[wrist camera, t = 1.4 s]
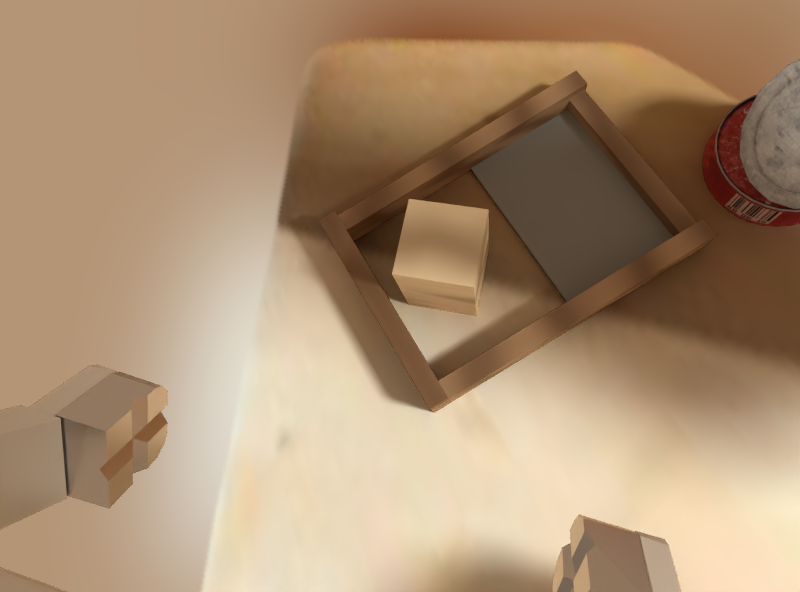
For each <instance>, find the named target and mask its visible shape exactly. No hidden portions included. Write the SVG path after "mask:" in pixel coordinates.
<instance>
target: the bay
mask: <svg viewBox="0 0 800 592" xmlns="http://www.w3.org/2000/svg"><path fill="white" fill-rule="evenodd" d="M586 87H587V82H586V81H585V80H584V79H583V78H582V77H581V76H580V74H579V73H578V72H577V71H575V72H573V73H571V74H570V75H568V76H566V77H565V78H563V79H562V80H560V81H558V82H557V83H555V84H553V85H552V86H550V87H548V88H547V89H545V90H543V91H542V92H540V93H539V94H537V95H535V96H534V97H532V98H530V99H529V100H527V101H525V102H524V103H522V104H520V105H519V106H517V107H515V108H514V109H512V110H511V111H509V112H507V113H506V114H504V115H502V116H501V117H499V118H497V119H496V120H494V121H492V122H491V123H489V124H487V125H486V126H484V127H483V128H481V129H479V130H478V131H476V132H474V133H473V134H471V135H469V136H468V137H466V138H464V139H463V140H461V141H460V142H458V143H456V144H455V145H453V146H451V147H450V148H448V149H446V150H445V151H443V152H441V153H440V154H438V155H436V156H435V157H433V158H432V159H430V160H428V161H427V162H425V163H423V164H422V165H420V166H418V167H417V168H415V169H413V170H412V171H410V172H409V173H407V174H405V175H404V176H402V177H400V178H399V179H397V180H395V181H394V182H392V183H390V184H389V185H387V186H385V187H384V188H382V189H381V190H379V191H377V192H376V193H374V194H372V195H371V196H369V197H367V198H366V199H364V200H362V201H361V202H359V203H357V204H356V205H354V206H353V207H351V208H349V209H348V210H346V211H344V212H343V213H341V214H339V215H337V213H336V212H335V210H334V211H333V212H331V213H329V214H328V215H326V216H324V217H323V218H321V219H319V220H318V221H319V222H320V224H321V226H322V227H323V229H324V231H325V232H326V234H327V236H328V238H329V239H330V241H331V243H332V244H333V246H334V248H335V249H336V251H337V253H338V255H339V256H340V258H341V260H342V261H343V263H344V265H345V266H346V268H347V270H348V271H349V273H350V275H351V277H352V278H353V280H354V282H355V283H356V285H357V287H358V288H359V290H360V292H361V294H362V295H363V297H364V299H365V300H366V302H367V304H368V305H369V307H370V309H371V310H372V312H373V314H374V316H375V317H376V319H377V321H378V322H379V324H380V326H381V327H382V329H383V331H384V333H385V334H386V336H387V338H388V339H389V341H390V343H391V344H392V346H393V348H394V349H395V351H396V353H397V355H398V356H399V358H400V360H401V361H402V363H403V365H404V366H405V368H406V370H407V372H408V373H409V375H410V377H411V378H412V380H413V382H414V383H415V385H416V387H417V388H418V390H419V392H420V394H421V395H422V397H423V399H424V400H425V402H426V404H427V405H428V407H429V409H430V410H432V411H433V412H436V411H438V410H439V409H441V408H442V407H444V406H446V405H447V404H449V403H451V402H452V401H454V400H456V399H457V398H459V397H460V396H462V395H464V394H465V393H467V392H469V391H470V390H472V389H473V388H475V387H477V386H478V385H480V384H482V383H483V382H485V381H487V380H488V379H490V378H491V377H493V376H495V375H496V374H498V373H500V372H501V371H503V370H504V369H506V368H508V367H509V366H511V365H513V364H514V363H516V362H518V361H519V360H521V359H522V358H524V357H526V356H527V355H529V354H531V353H532V352H534V351H535V350H537V349H539V348H540V347H542V346H544V345H545V344H547V343H549V342H550V341H552V340H553V339H555V338H557V337H558V336H560V335H562V334H563V333H565V332H566V331H568V330H570V329H571V328H573V327H575V326H576V325H578V324H580V323H581V322H583V321H584V320H586V319H588V318H589V317H591V316H593V315H594V314H596V313H597V312H599V311H601V310H602V309H604V308H606V307H607V306H609V305H611V304H612V303H614V302H615V301H617V300H619V299H620V298H622V297H624V296H625V295H627V294H628V293H630V292H632V291H633V290H635V289H637V288H638V287H640V286H642V285H643V284H645V283H646V282H648V281H650V280H651V279H653V278H655V277H656V276H658V275H659V274H661V273H663V272H664V271H666V270H668V269H669V268H671V267H673V266H674V265H676V264H677V263H679V262H681V261H682V260H684V259H686V258H687V257H689V256H690V255H692V254H694V253H695V252H697V251H699V250H700V249H702V248H704V247H705V246H706V245H707V244H708V243H709V242H710V241H711V240H712V239H713V238H714V237H715V236H716V235H717V233H716V232H715V231H714V230H713V229H712V228H711V226H710V225H709V224H708V223H707V222H706V221H705V219H704V218H703V219H702V220H700V221H698V222H697V221H696V220H695V219H694V218H693V216H692V215H691V214H690V213H689V212H688V211H687V209H686V208H685V207H684V206H683V205H682V204H681V202H680V201H679V200H678V199H677V198H676V197H675V195H674V194H673V193H672V192H671V191H670V190H669V188H668V187H667V186H666V185H665V184H664V183H663V181H662V180H661V179H660V178H659V177H658V176H657V174H656V173H655V172H654V171H653V170H652V169H651V167H650V166H649V165H648V164H647V163H646V162H645V160H644V159H643V158H642V157H641V156H640V154H639V153H638V152H637V151H636V150H635V149H634V147H633V146H632V145H631V144H630V143H629V142H628V140H627V139H626V138H625V137H624V136H623V135H622V133H621V132H620V131H619V130H618V129H617V128H616V126H615V125H614V124H613V123H612V122H611V121H610V119H609V118H608V117H607V116H606V115H605V114H604V112H603V111H602V110H601V109H600V108H599V107H598V105H597V104H596V103H595V102H594V101H593V99H592V98H591V97H590V96H589V95H588V94H587V92H586ZM470 170H471V171H472V172H473V173H474V175H475V176H476V178H477V179H478V180H479V182H480V183H481V184H482V186H483V187H484V189H485V190H486V191H487V193H488V194H489V196H490V197H491V198H492V200H493V201H494V202H495V204H496V205H497V207H498V208H499V209H500V211H501V212H502V214H503V215H504V216H505V218H506V219H507V220H508V222H509V223H510V225H511V226H512V227H513V229H514V230H515V232H516V233H517V234H518V236H519V237H520V238H521V240H522V241H523V243H524V244H525V245H526V247H527V248H528V250H529V251H530V252H531V254H532V255H533V256H534V258H535V259H536V261H537V262H538V263H539V265H540V266H541V268H542V269H543V270H544V272H545V273H546V274H547V276H548V277H549V279H550V280H551V281H552V283H553V284H554V286H555V287H556V288H557V290H558V291H559V292H560V294H561V295H562V297H563V298H564V299H565V301H566V303H564V304H563V305H561V306H560V307H558V308H556V309H555V310H553V311H551V312H550V313H548V314H547V315H545V316H543V317H542V318H540V319H538V320H537V321H535V322H533V323H532V324H530V325H529V326H527V327H525V328H524V329H522V330H520V331H519V332H517V333H515V334H514V335H512V336H511V337H509V338H507V339H506V340H504V341H502V342H501V343H499V344H498V345H496V346H494V347H493V348H491V349H489V350H488V351H486V352H484V353H483V354H481V355H480V356H478V357H476V358H475V359H473V360H471V361H470V362H468V363H467V364H465V365H463V366H462V367H460V368H458V369H457V370H455V371H453V372H452V373H450V374H449V375H447V376H445V377H444V378H442V379H440V380H439V381H438V379H437V378H436V376H435V374H434V373H433V371H432V369H431V368H430V366H429V364H428V363H427V361H426V359H425V358H424V356H423V355H422V353H421V351H420V350H419V348H418V346H417V345H416V343H415V341H414V340H413V338H412V336H411V335H410V333H409V331H408V330H407V328H406V326H405V325H404V323H403V322H402V320H401V318H400V317H399V315H398V313H397V312H396V310H395V308H394V307H393V305H392V303H391V302H390V300H389V298H388V297H387V295H386V293H385V292H384V290H383V289H382V287H381V285H380V284H379V282H378V280H377V279H376V277H375V275H374V274H373V272H372V270H371V269H370V267H369V265H368V264H367V262H366V260H365V259H364V257H363V256H362V254H361V252H360V251H359V249H358V247H357V246H356V244H355V242H354V241H355V240H357V239H358V238H360V237H362V236H363V235H365V234H366V233H368V232H370V231H371V230H373V229H375V228H376V227H378V226H380V225H381V224H383V223H385V222H386V221H388V220H389V219H391V218H393V217H394V216H396V215H398V214H399V213H401V212H403V211H404V210H406V209H407V205H408V201H409V199H415V200H422V199H424V198H426V197H427V196H429V195H431V194H432V193H434V192H436V191H437V190H439V189H440V188H442V187H444V186H445V185H447V184H449V183H450V182H452V181H454V180H455V179H457V178H459V177H460V176H462V175H463V174H465V173H467V172H468V171H470Z"/></svg>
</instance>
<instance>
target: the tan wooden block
mask: <svg viewBox="0 0 800 592" xmlns="http://www.w3.org/2000/svg"><path fill="white" fill-rule="evenodd" d="M488 253H489V209H482V208H475V207H467V206H460V205H452V204H445V203H437V202H430V201H422V200H415V199H409V201H408V205H407V209H406V214H405V218H404V223H403V227H402V231H401V236H400V240H399V245H398V249H397V254H396V258H395V262H394V267H393V271H392V275H393V277H394V279H395V281H396V282H397V284H398V286H399V288H400V290H401V292H402V293H403V295H404V297H405V299H406V301H407V303H408V304H410V305H415V306H421V307H427V308H433V309H439V310H444V311H450V312H456V313H462V314H468V315H473V316H477V312H478V307H479V301H480V296H481V290H482V285H483V280H484V274H485V269H486V263H487V258H488Z"/></svg>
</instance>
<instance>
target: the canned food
mask: <svg viewBox="0 0 800 592" xmlns="http://www.w3.org/2000/svg"><path fill="white" fill-rule="evenodd" d="M702 170H703V175H704V180H705V182H706V184H707V187H708V189H709V191H710V192H711V193H712V195H713V196H714V198H715V199H716V200H717V201H718V202H719V203H720V204H721V205H722V206H723V207H724V208H725V209H726V210H728V211H729V212H731V213H732V214H734V215H735V216H737V217H739V218H742V219H744V220H746V221H748V222H752V223H756V224H759V225H765V226H776V227H778V226H791V225H794V224H798V223H800V59H799V60H797V61H795V62H793V63H791V64H789V65H788V66H787V67H785V68H784V69H783V70H782V71H781V72H780V73H779V74H777V75H776V76H775V77H774V78H773V79H772V80H771V81H770V82H769V83H768V84H767V85H766V86H765V87H763V89H761V90H760V92H759V93H758V94H757V95H754V96H752V97H750V98H748V99H746V100H744V101H742V102H740V103H739V104H738V105H736V106H735V107H733V108H732V109H731V110H730V111H729V113H728V114H727V115H726V116H725V117H724V119H723V120H722V122H721V124H720V125H719V126H718V128H717V129H716V131H715V132H714V134H713V135H712V137H711V138H710V140H709V142H708V143H707V145H706V147H705V151H704V154H703V161H702Z"/></svg>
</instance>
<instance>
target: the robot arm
mask: <svg viewBox="0 0 800 592" xmlns="http://www.w3.org/2000/svg"><path fill="white" fill-rule="evenodd" d="M167 405H168V395H167V390H166V389H165V388H164V387H163V386H160V385H157V384H154V383H151V382H148V381H145V380H142V379H139V378H136V377H134V376H131V375H127V374H125V373H121V372H117V371H114V370H111V369H108V368H105V367H102V366H99V365H92V366H88V367H87V368H85V369H84V370H82V371H81V372H79V373H78V374H77V375H75V376H73V377H72V378H70V379H69V380H68V381H66V382H65V383H63V384H62V385H60V386H59V387H57V388H56V389H55V390H53V391H52V392H50V393H49V394H47V395H46V396H44V397H43V398H42V399H40V400H38V401H37V402H36V403H34V404H33V405H31V406H30V407H25V406H21V405H20V406H16V407H12V408H8V409H4V410H0V529H3V528H5V527H7V526H9V525H11V524H13V523H15V522H17V521H20V520H22V519H24V518H26V517H28V516H30V515H32V514H35V513H37V512H39V511H41V510H43V509H45V508H47V507H50V506H52V505H54V504H56V503H58V502H60V501H62V500H65V499H66V498H67V496H70V497H73V498H76V499H80V500H83V501H86V502H90V503H93V504H96V505H99V506H102V507H106V508H110V507H111V506H112V505H113V504H114V503H115V502H116V501H117V500H118V499H119V498H120V497H121V496H122V495H123V494H124V493H125V492H126V490H127V489H128V488H129V487H130V486H131V485H132V484H133V473H136V472H139V471H141V470H144V469H147V468H148V467H149V466H150V465H151V464H152V463H153V462H154V461H155V459H156V458H157V457H158V455H159V453H160V451H161V449H162V447H163V446H164V443H165V439H166V435H167V424H168V423H167V421H166V419H165V418H164V416H163V414H162V413H161V410H163V409H164V408H165V407H166V406H167ZM570 538H571V543H570V544H568V545H566V546H564V547H562V549H561V552H560V554H559V557H558V559H557V562H556V567H555V571H554V575H553V587H552V592H682V591H681V587H680V584H679V580H678V577H677V573H676V570H675V566H674V562H673V559H672V555H671V552H670V548H669V545H668V543H667V542H666V541H665V539H662V538H658V537H655V536H651V535H648V534H644V533H641V532H637V531H635V532H634V531H632V530H629V529H625V528H622V527H619V526H615V525H612V524H609V523H605V522H602V521H599V520H595V519H592V518H589V517H586V516H582V515H578V516H577V518H576V519H575V520H574V522H573V524H572V527H571V529H570ZM0 592H67V591H65V590H62V589H59V588H57V587H54V586H51V585H48V584H46V583H43V582H40V581H37V580H34V579H32V578H29V577H26V576H23V575H21V574H18V573H15V572H13V571H10V570H7V569H4V568H2V567H0Z"/></svg>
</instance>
